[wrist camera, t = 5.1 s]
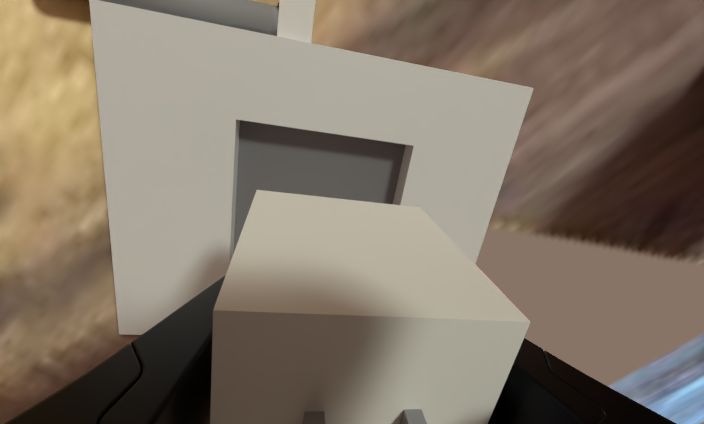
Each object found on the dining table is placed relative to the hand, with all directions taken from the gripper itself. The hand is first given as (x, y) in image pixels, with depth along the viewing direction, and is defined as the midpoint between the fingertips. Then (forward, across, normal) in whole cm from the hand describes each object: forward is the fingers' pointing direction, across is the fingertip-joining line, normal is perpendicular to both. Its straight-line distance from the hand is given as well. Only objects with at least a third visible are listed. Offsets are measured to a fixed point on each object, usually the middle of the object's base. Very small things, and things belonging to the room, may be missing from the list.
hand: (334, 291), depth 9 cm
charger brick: (+1, 0, 0) cm, 1 cm away
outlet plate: (+7, 0, 0) cm, 7 cm away
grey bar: (+7, +6, -7) cm, 11 cm away
